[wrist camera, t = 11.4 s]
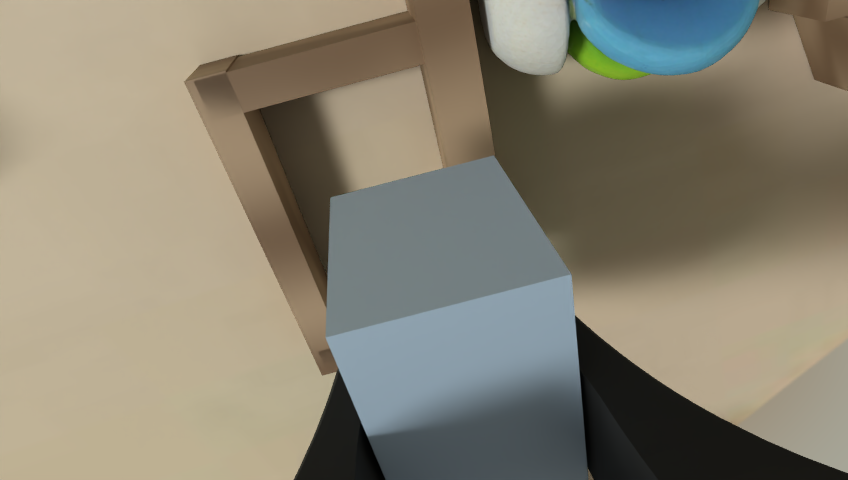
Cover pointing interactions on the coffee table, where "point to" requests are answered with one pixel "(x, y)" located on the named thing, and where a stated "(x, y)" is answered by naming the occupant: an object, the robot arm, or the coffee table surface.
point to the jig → (368, 58)
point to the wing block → (455, 329)
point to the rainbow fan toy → (615, 34)
